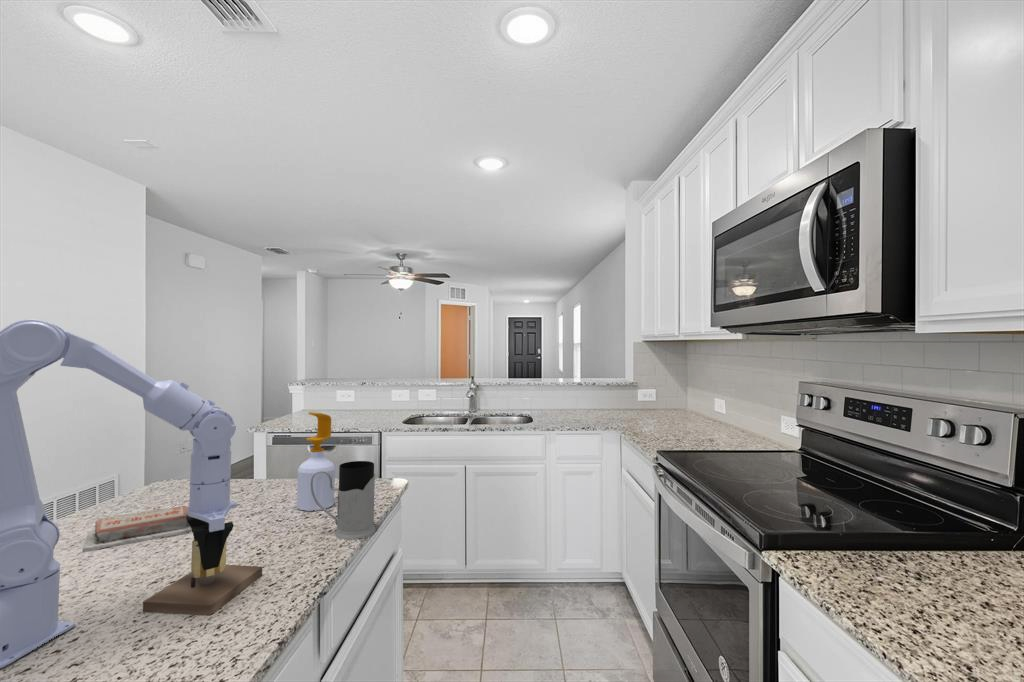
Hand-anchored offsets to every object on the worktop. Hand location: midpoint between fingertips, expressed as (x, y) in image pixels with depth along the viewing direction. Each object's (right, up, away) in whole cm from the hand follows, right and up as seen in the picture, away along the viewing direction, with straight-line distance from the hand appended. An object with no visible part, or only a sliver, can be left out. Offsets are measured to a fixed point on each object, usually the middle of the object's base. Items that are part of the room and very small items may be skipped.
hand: (207, 562), depth 78 cm
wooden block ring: (0, -1, 0) cm, 1 cm away
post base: (0, -5, 0) cm, 5 cm away
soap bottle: (0, -6, +44) cm, 44 cm away
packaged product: (-30, -6, +24) cm, 39 cm away
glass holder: (+13, -6, +26) cm, 30 cm away
